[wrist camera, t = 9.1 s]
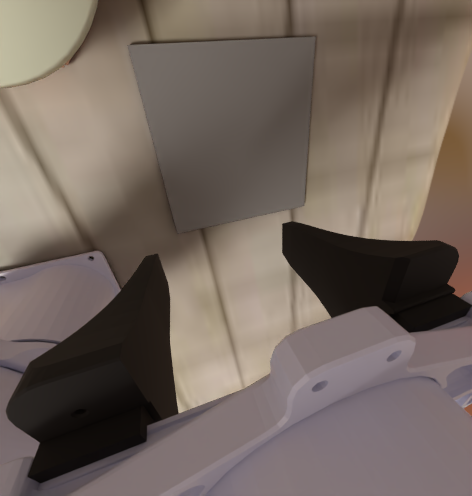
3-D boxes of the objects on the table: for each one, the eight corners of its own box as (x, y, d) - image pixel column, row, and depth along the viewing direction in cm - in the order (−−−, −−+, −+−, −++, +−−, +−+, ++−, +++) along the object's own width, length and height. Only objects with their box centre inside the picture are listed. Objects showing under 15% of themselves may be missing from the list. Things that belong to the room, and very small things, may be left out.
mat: (177, 231, 22) (177, 233, 22) (128, 46, 15) (127, 45, 15) (302, 204, 25) (304, 206, 25) (312, 38, 18) (315, 36, 17)
